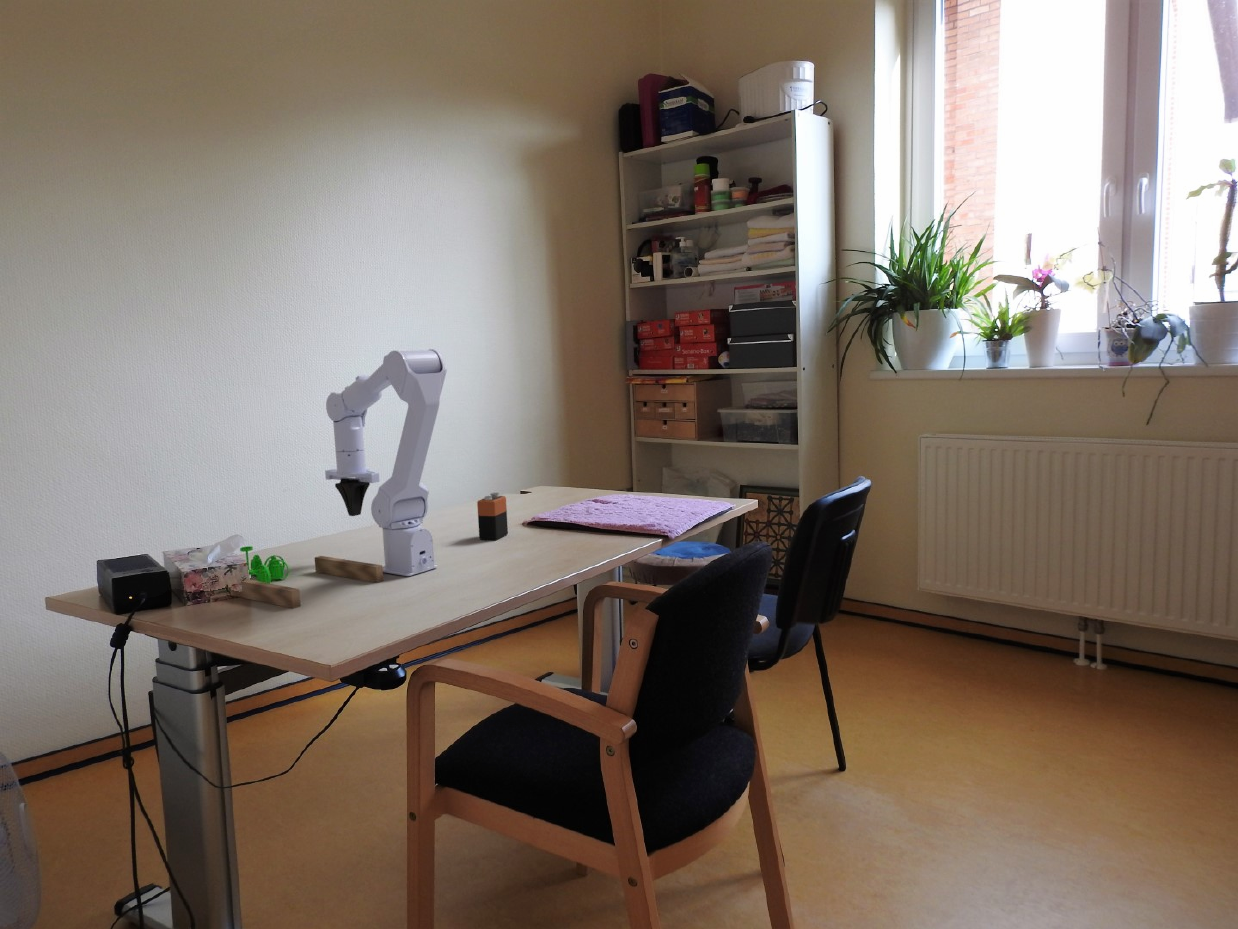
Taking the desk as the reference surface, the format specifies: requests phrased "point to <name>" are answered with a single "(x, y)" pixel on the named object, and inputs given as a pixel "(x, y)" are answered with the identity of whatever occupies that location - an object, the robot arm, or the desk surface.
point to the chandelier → (265, 567)
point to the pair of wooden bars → (322, 565)
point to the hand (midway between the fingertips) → (354, 515)
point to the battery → (492, 517)
